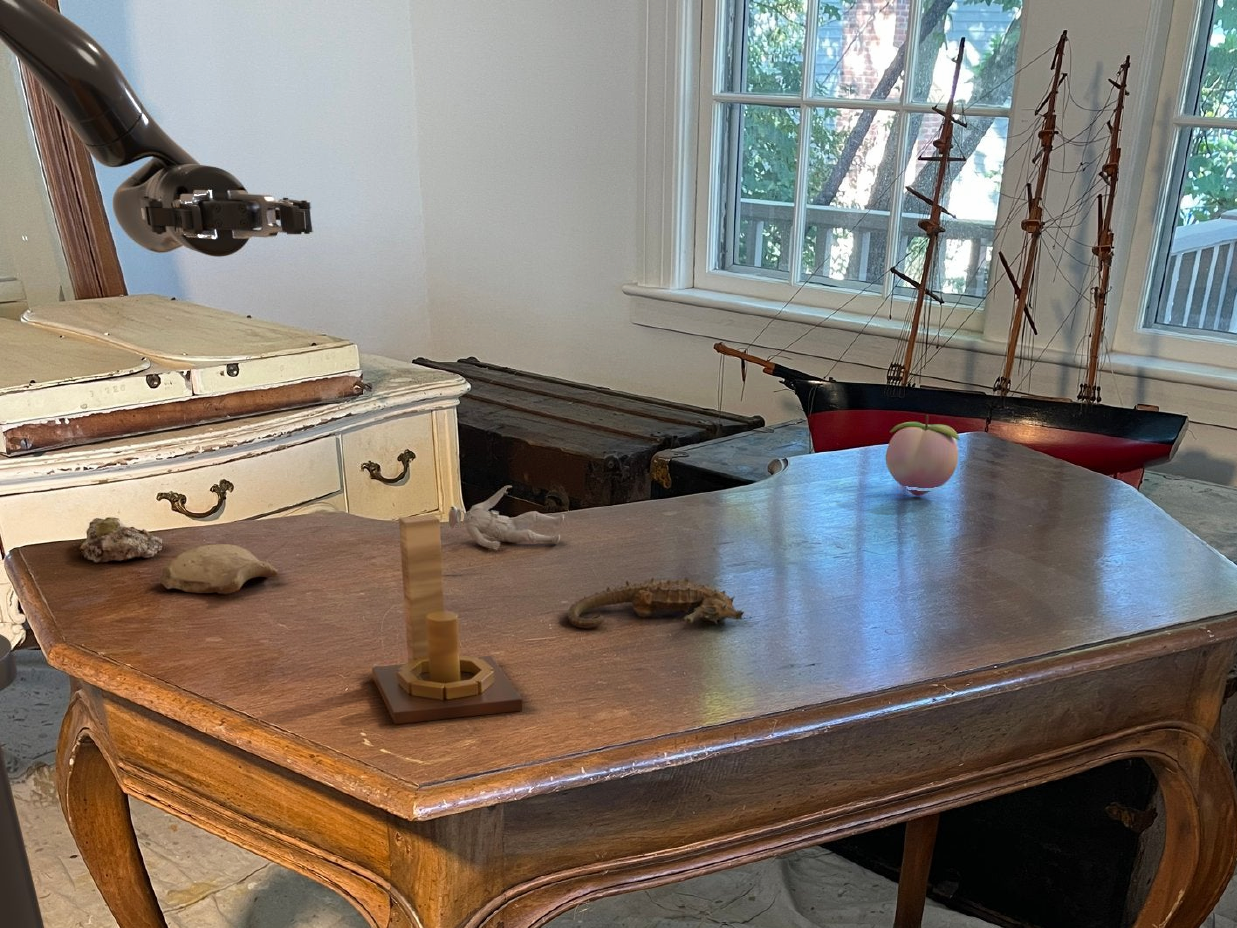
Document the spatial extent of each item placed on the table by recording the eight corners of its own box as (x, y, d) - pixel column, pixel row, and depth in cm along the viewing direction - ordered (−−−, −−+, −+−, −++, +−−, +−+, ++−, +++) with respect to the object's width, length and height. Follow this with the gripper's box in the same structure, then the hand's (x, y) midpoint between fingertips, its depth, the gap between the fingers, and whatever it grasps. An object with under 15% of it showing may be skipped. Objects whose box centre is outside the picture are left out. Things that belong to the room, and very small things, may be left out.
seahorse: (576, 597, 126) (576, 566, 125) (742, 605, 126) (744, 574, 124) (564, 629, 118) (564, 596, 117) (742, 638, 118) (744, 605, 116)
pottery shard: (156, 603, 125) (226, 596, 120) (143, 557, 124) (213, 548, 118) (241, 582, 134) (309, 575, 128) (230, 539, 132) (299, 530, 127)
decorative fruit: (960, 493, 170) (972, 414, 165) (946, 506, 163) (957, 424, 158) (890, 484, 173) (900, 406, 168) (873, 497, 166) (883, 416, 161)
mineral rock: (178, 534, 133) (96, 523, 127) (173, 577, 134) (92, 567, 129) (143, 515, 140) (65, 503, 135) (138, 555, 141) (61, 545, 136)
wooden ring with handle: (505, 690, 102) (501, 539, 96) (418, 704, 99) (408, 549, 93) (465, 655, 109) (458, 511, 103) (382, 667, 106) (370, 520, 100)
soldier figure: (555, 562, 140) (447, 528, 137) (544, 582, 144) (439, 549, 141) (568, 500, 142) (462, 465, 139) (557, 521, 147) (453, 487, 143)
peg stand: (394, 724, 98) (388, 642, 95) (372, 678, 106) (366, 601, 103) (522, 710, 101) (521, 631, 98) (491, 666, 109) (489, 591, 106)
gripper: (117, 162, 118) (155, 169, 106) (272, 166, 125) (325, 172, 112) (131, 253, 122) (169, 269, 110) (281, 252, 128) (333, 267, 116)
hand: (248, 220), depth 111 cm, fingers open, 8 cm apart
